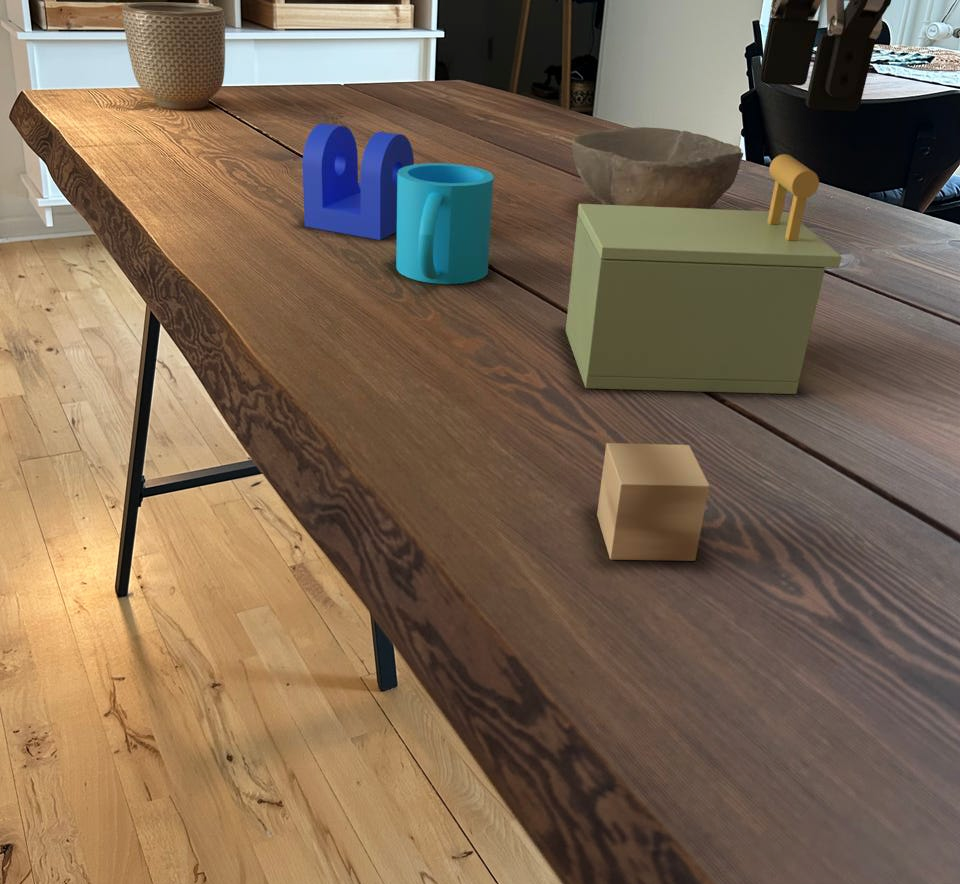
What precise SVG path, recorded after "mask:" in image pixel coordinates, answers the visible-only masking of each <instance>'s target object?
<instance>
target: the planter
mask: <svg viewBox="0 0 960 884" xmlns="http://www.w3.org/2000/svg"><path fill="white" fill-rule="evenodd" d="M121 16H122V22H123V23H122V24H123V28H124V34H125V38H126V45H127V50H128V51H127V52H128V55H129V58H130V59H129V60H130V64H131V68H132V72H133V75H134V78H135V80H136V82H137V85H138V87H140V89H141V90H142V91H143V92H144V93H146V94H147V95H148V96H150V97H151V98H153V99H154V101H155V103H156V105H157V106H158V107H160V108H163V109H168V110H176V111H178V110H179V111H181V110H182V111H184V110H185V111H186V110H187V111H188V110H199V109H204V108H205V107H207V106H208V105H209V101H210V99H211V98H212V97H213V96H215V95H216V94H217V93H218V92H219V91H220V90H221V88H222V87H223V84H224V78H225V69H226V15H225V10H224V9H223V8H222V7H220V6H216V5H210V4H202V3H189V2H166V1H165V2H164V1H156V2H155V1H153V2H151V1H149V2H148V1H147V2H130V3H125V4H123V5H122V6H121Z"/></svg>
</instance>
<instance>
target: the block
mask: <svg viewBox="0 0 960 884" xmlns="http://www.w3.org/2000/svg"><path fill="white" fill-rule="evenodd" d="M603 459H604V460H603V466H602V475H601V482H600V489H599V495H598V505H597V512H596V516H597V520H598V523H599V526H600V530H601V533H602V537H603V540H604V543H605V546H606V547H605V548H606V550H607V554H608V557H609V560H611V561H614V560H615V561H616V560H617V561H668V562H669V561H670V562H671V561H672V562H674V561H675V562H695V561H696V558H697V553H698V547H699V542H700V538H701V532H702V528H703V523H704V517H705V513H706V508H707V502H708V498H709V497H708V496H709V491H710V484H709V482H708V479H707V477H706V476H705V473H704V472H703V469H702V468H701V466H700V463H699V462H698V459H697V458H696V456H695V454H694V452H693V450H692V448H691V446H690V444H666V443H665V444H664V443H663V444H662V443H623V442H622V443H619V442H606V444H605V452H604V458H603Z"/></svg>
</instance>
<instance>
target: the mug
mask: <svg viewBox="0 0 960 884" xmlns="http://www.w3.org/2000/svg"><path fill="white" fill-rule="evenodd" d="M493 193H494V174H492V173H491V172H490V171H488V170H486V169H483V168H480V167H477V166H471V165H465V164H458V163H447V162H446V163H445V162H443V163H442V162H426V163H416V164H415V163H414V165H410V166H405V167H403V168H401V169H399V170H398V173H397V232H396V253H395V254H396V259H395V260H396V261H395V262H396V263H395V265H396V266H395V267H396V268H395V269H396V270H397V272H398V273H399V274H401V275H402V276H404V277H405V278H408V279H411V280H415V281H418V282H423V283H428V284H429V283H430V284H440V285H454V284H455V285H458V284H468V283H472V282H476V281H479V280H482V279H484V278H485V277H486V276H487V275H488V274H489V261H490V242H491V227H492V226H491V225H492V211H493V210H492V208H493Z"/></svg>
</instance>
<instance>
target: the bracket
mask: <svg viewBox="0 0 960 884" xmlns="http://www.w3.org/2000/svg"><path fill="white" fill-rule="evenodd" d="M358 156H359V154H358V147H357V142H356V138H355V136H354V134H353V132H352V131H351V130H350V128H348V127H347V126H345V125H339V124H333V123H332V124H331V123H325V122H323V123H319V124H317V125H316V126H315V127H313V128H312V130H311V131H310V133H309V134H308V137H307V138H306V141H305V144H304V148H303V153H302V188H303V189H302V191H303V192H302V195H303V219H304V220H303V221H304V227H306V228H311V229H317V230H323V231H327V232H333V233H339V234H345V235H351V236H356V237H361V238H366V239H372V240H378V241H381V240H384V239H385V238H387V237H389V236H391V235H393V234H395V233H397V173H398V170H399V169H401V168H403V167H405V166H410V165H414V164H415V159H414V158H415V157H414V151H413V147H412V145H411V141H410V140H409V138H408V137H407V136H406V135H404V134H401V133H396V132H395V133H394V132H387V131H377V132H375V133H373V135H372V136H371V137H370V138H369V139H368V142H367V143H366V146H365V148H364V151H363V155H362V158H361V164H360V181H359V157H358Z"/></svg>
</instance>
